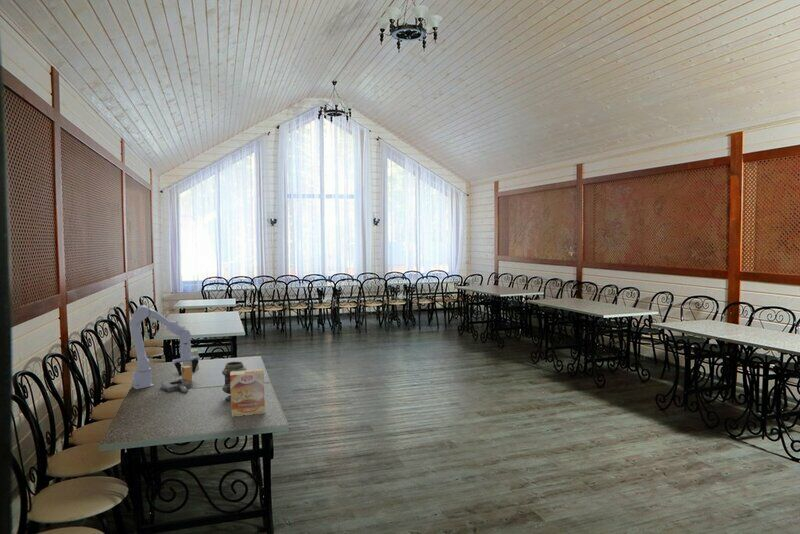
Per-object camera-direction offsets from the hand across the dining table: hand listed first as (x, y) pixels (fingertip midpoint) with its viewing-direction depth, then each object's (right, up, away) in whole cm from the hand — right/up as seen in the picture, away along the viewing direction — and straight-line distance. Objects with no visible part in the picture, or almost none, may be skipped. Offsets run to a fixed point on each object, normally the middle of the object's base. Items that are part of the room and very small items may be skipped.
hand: (187, 374), depth 311 cm
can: (-7, -2, +26) cm, 27 cm away
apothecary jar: (+37, -6, -34) cm, 51 cm away
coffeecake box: (+50, -7, -56) cm, 75 cm away
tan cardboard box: (0, -4, 0) cm, 4 cm away
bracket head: (+2, -5, -15) cm, 16 cm away
